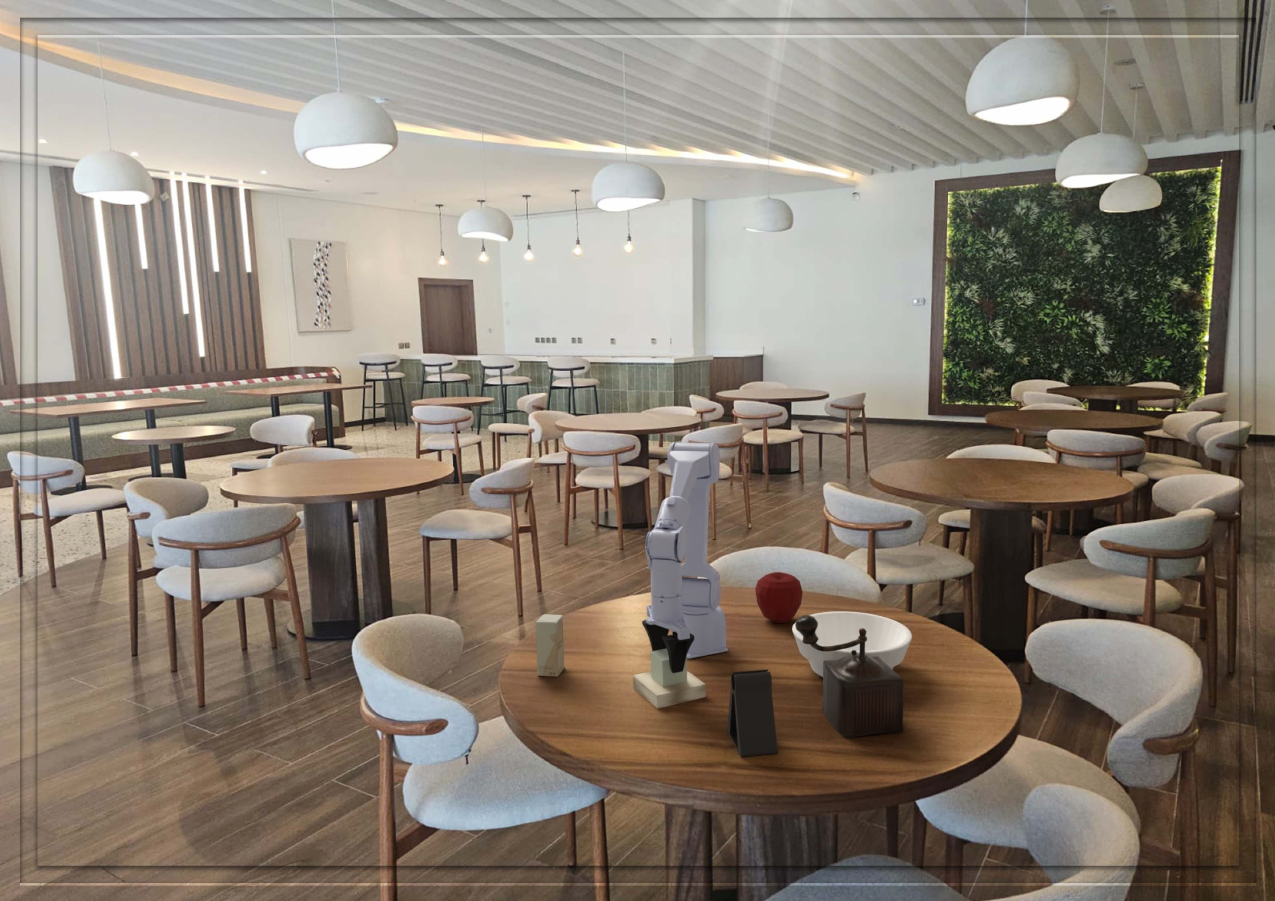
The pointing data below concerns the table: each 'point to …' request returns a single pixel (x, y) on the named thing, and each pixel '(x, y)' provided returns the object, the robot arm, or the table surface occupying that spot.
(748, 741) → the phone stand
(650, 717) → the table surface
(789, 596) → the apple
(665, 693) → the birch block
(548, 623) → the box
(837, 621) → the bowl
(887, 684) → the manual coffee grinder
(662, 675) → the sage cube
